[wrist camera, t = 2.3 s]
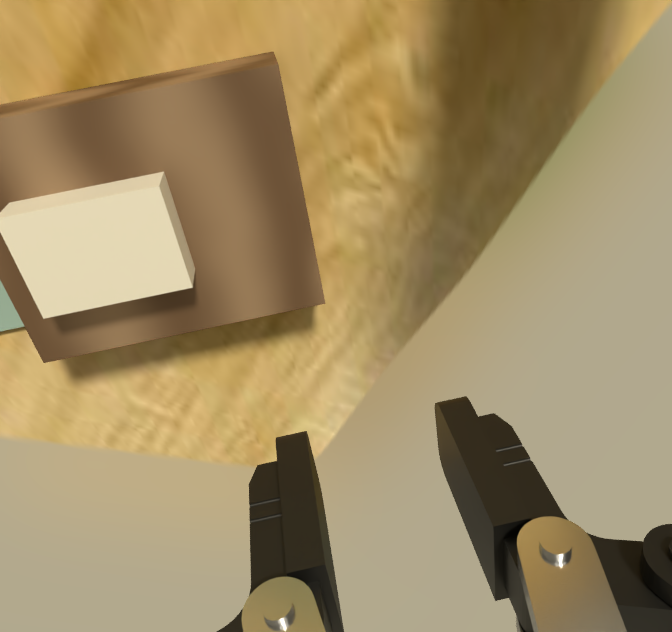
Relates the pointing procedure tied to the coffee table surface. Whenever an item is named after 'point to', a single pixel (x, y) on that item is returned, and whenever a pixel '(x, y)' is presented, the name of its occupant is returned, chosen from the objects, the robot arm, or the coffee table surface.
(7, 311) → the mat
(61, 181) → the wooden block
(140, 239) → the tile
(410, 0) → the coffee table surface
